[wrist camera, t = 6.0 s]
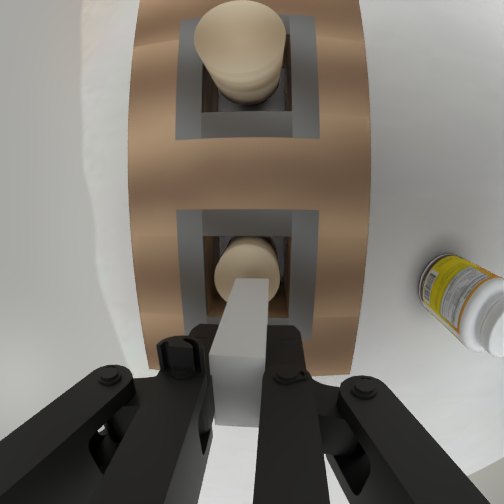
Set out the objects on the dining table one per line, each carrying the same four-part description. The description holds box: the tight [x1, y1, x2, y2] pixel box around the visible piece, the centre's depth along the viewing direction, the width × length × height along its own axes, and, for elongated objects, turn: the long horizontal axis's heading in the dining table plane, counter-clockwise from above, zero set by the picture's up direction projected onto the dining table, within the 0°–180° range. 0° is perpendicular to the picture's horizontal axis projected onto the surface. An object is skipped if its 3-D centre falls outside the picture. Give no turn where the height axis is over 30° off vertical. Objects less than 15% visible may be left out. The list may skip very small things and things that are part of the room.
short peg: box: [214, 236, 280, 302], centre depth 21 cm, size 4×4×6 cm
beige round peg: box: [194, 0, 286, 105], centre depth 13 cm, size 4×4×6 cm
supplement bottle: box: [419, 254, 504, 357], centre depth 19 cm, size 6×6×10 cm
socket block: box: [128, 0, 371, 376], centre depth 19 cm, size 26×14×6 cm, turn 0°
